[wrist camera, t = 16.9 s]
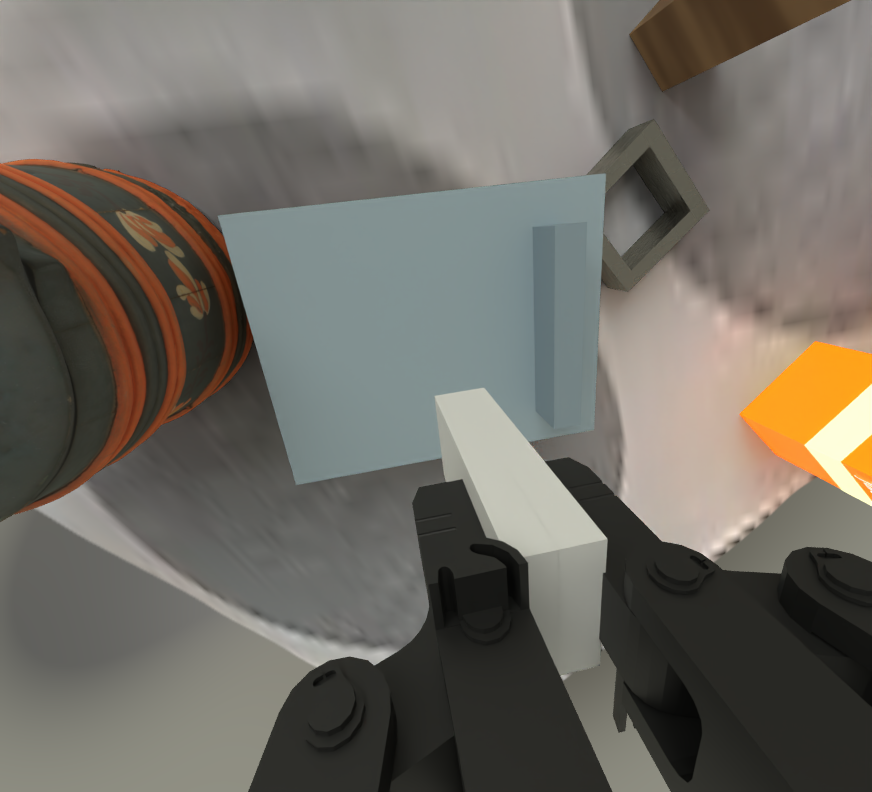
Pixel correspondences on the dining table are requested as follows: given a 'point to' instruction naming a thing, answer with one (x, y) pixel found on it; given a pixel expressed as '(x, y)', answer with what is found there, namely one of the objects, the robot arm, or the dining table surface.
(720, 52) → the pin
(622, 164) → the socket
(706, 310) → the dining table surface
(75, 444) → the beer stein
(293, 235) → the lid
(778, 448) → the orange juice
